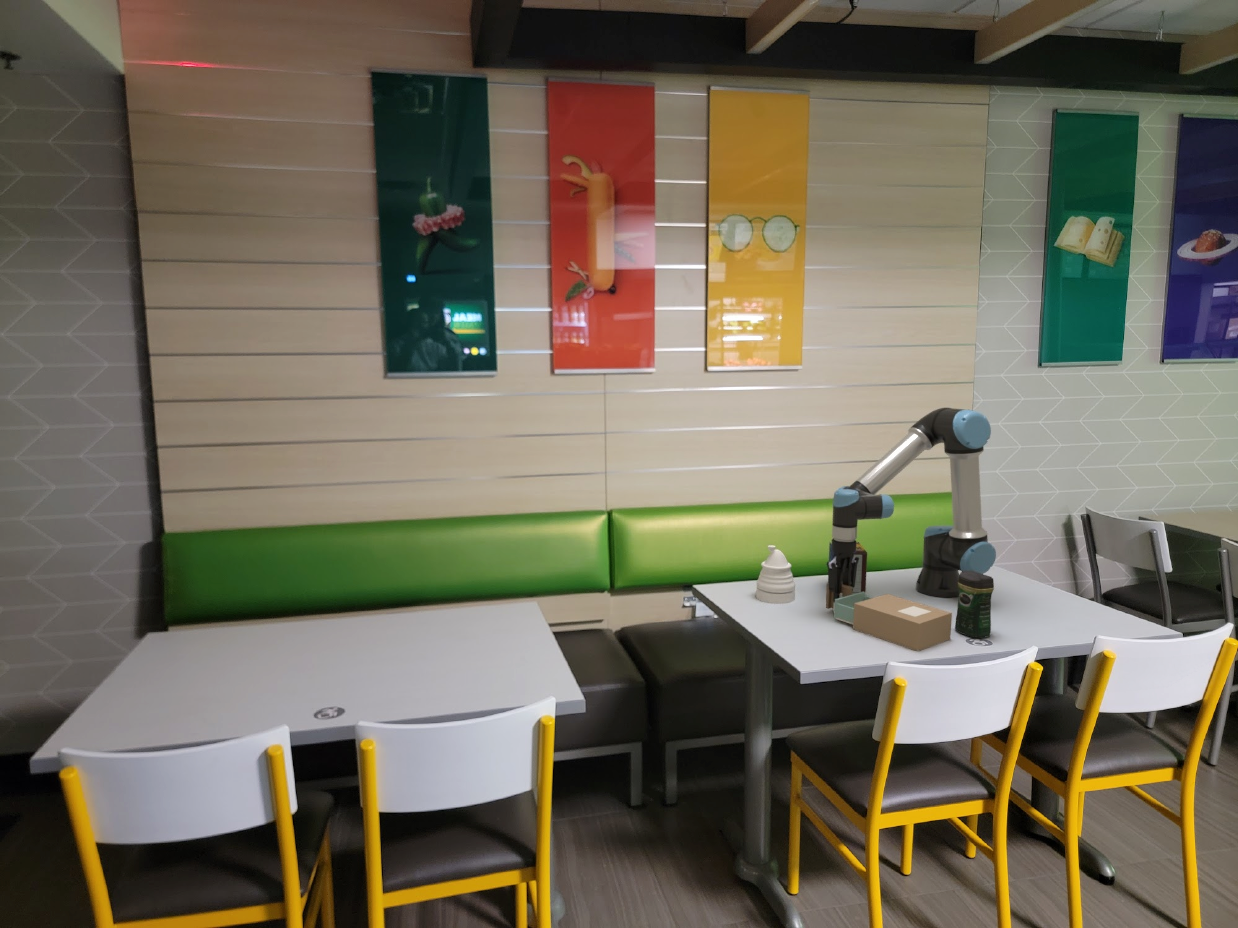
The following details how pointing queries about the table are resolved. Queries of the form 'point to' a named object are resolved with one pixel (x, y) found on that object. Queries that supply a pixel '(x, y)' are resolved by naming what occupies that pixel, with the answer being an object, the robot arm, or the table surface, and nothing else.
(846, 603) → the tray
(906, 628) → the cardboard box
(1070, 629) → the table surface
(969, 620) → the coffee jar
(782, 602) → the honey pot
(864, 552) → the protein box
